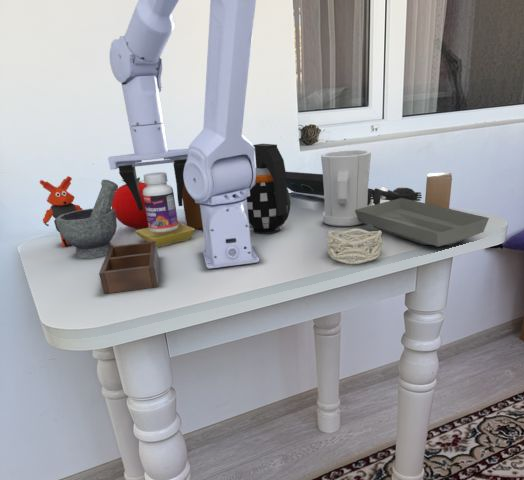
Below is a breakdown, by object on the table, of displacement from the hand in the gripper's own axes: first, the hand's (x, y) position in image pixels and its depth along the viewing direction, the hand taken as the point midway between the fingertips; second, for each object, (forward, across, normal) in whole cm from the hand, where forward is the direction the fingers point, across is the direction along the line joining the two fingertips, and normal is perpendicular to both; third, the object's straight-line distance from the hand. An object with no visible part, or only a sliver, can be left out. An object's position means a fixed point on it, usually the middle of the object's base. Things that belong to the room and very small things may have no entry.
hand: (160, 207), depth 88 cm
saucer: (+6, 0, 0) cm, 6 cm away
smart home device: (+3, -30, -34) cm, 45 cm away
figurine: (+5, -48, -5) cm, 48 cm away
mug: (+6, -10, -9) cm, 15 cm away
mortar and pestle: (+6, +12, +2) cm, 14 cm away
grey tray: (+2, -41, +17) cm, 44 cm away
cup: (+6, -34, +3) cm, 35 cm away
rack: (+6, +5, +18) cm, 20 cm away
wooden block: (+6, -48, +11) cm, 49 cm away
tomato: (+6, +5, -14) cm, 16 cm away
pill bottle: (+4, 0, 0) cm, 4 cm away
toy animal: (+6, +18, -6) cm, 20 cm away
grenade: (+6, -19, +2) cm, 20 cm away
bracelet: (+4, -32, +25) cm, 41 cm away
